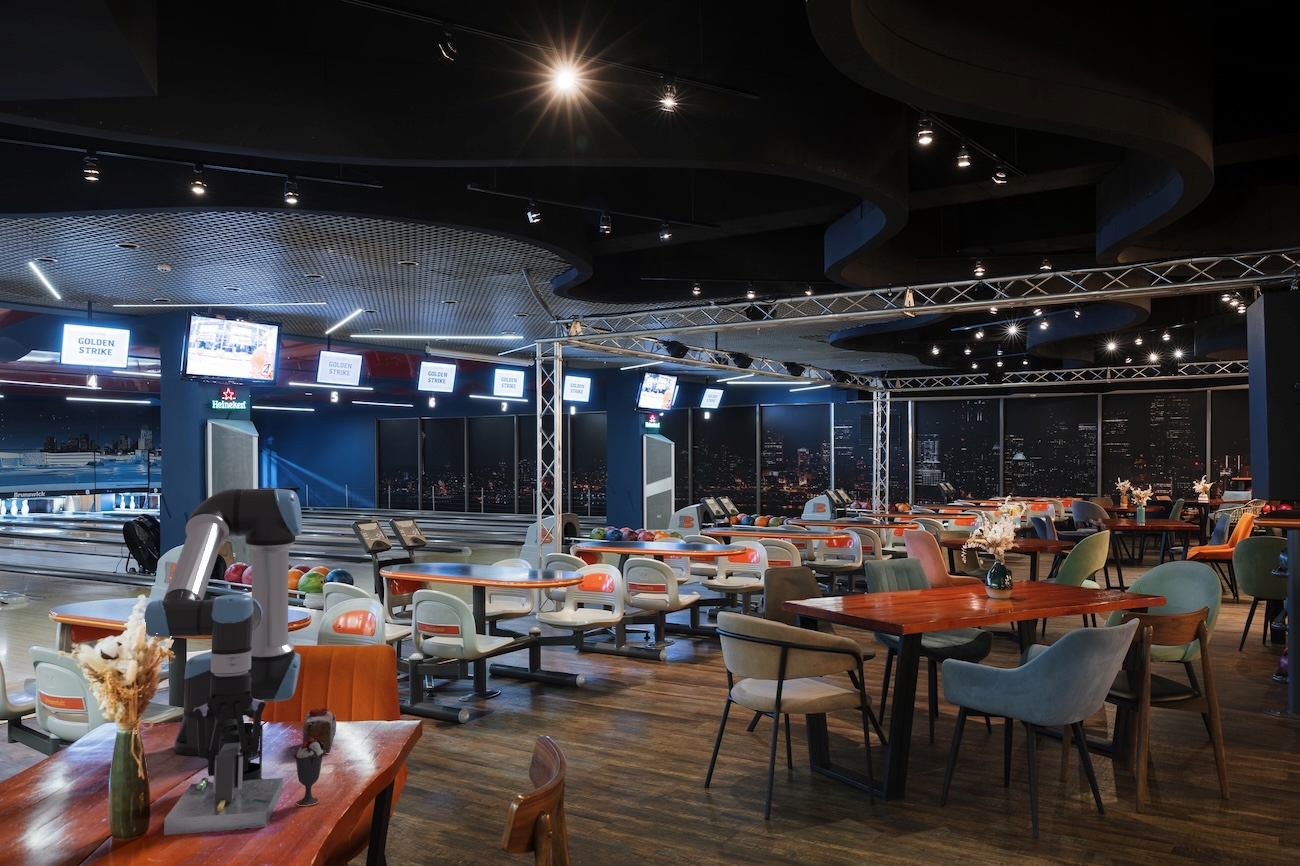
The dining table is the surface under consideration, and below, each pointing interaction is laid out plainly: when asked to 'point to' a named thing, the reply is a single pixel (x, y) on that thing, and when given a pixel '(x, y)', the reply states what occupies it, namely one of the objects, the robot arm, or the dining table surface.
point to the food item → (320, 727)
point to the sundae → (309, 766)
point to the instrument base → (224, 808)
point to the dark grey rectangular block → (226, 774)
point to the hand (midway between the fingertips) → (227, 789)
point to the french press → (253, 768)
